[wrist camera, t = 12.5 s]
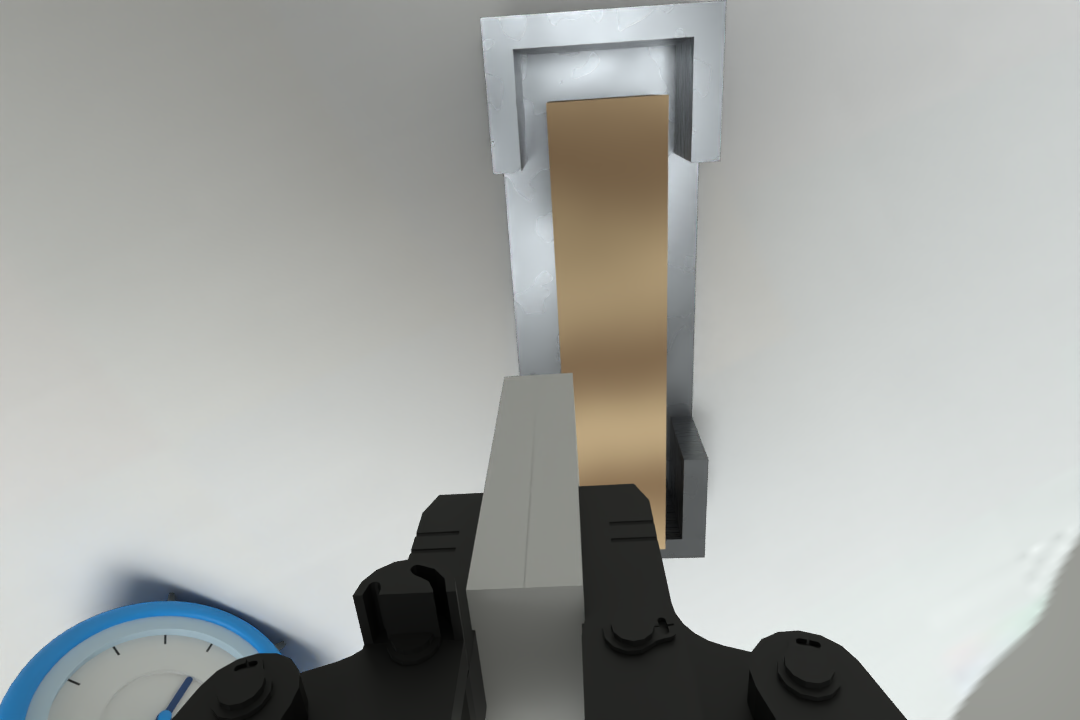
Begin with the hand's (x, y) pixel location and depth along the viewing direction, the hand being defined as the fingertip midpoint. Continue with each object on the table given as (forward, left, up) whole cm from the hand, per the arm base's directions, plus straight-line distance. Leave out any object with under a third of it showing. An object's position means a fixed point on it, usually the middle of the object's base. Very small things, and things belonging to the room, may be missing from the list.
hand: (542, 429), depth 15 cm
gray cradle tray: (+2, +2, -16) cm, 16 cm away
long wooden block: (+2, +2, -15) cm, 16 cm away
